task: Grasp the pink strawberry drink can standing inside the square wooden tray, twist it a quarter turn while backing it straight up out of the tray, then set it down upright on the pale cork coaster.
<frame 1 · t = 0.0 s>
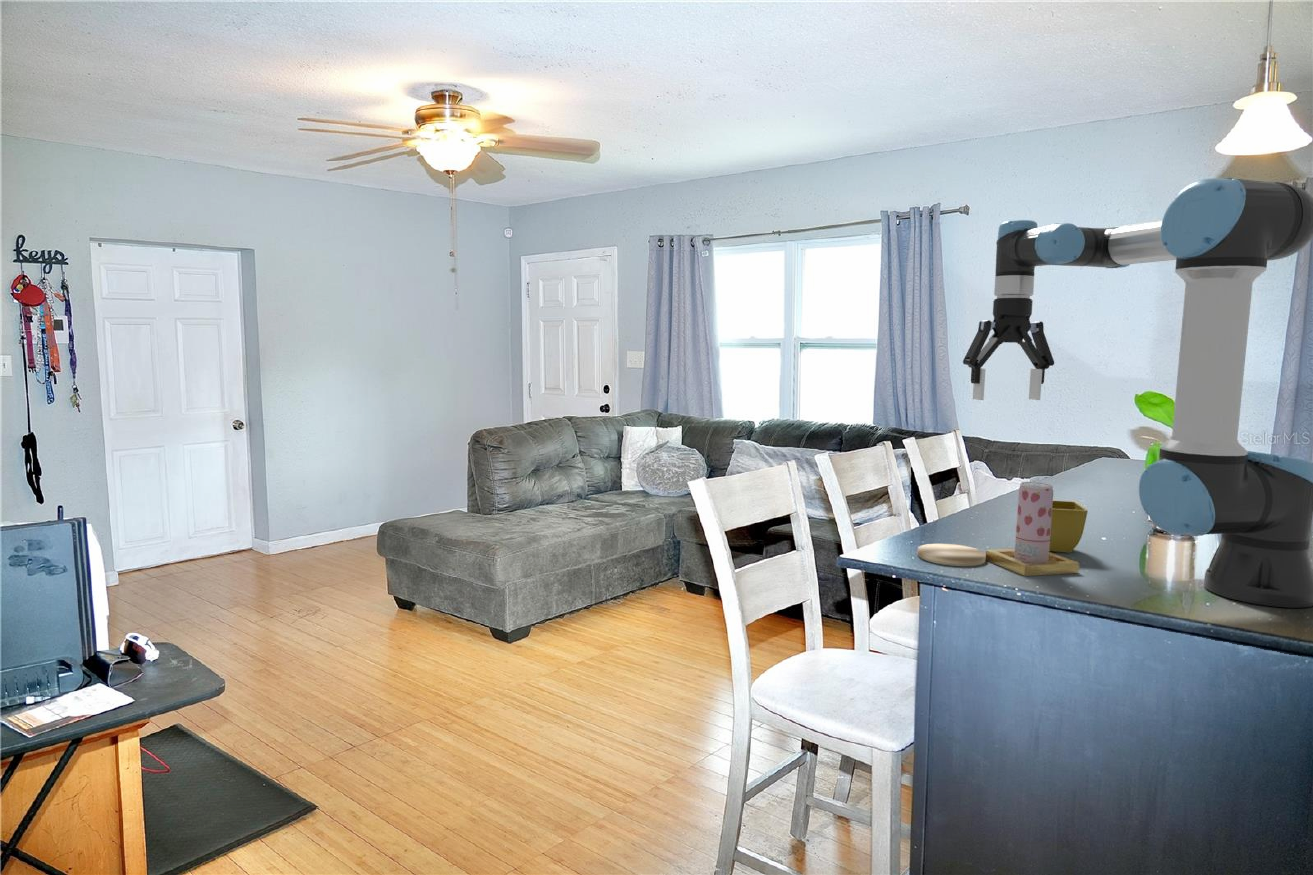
hand: (1006, 399, 179), 28 cm above the table, fingers open, 13 cm apart
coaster: (951, 557, 159), on the table
pink strawberry drink can: (1030, 567, 154), resting in square wooden tray
flower pot: (1054, 550, 166), on the table
square wooden tray: (1030, 566, 154), on the table
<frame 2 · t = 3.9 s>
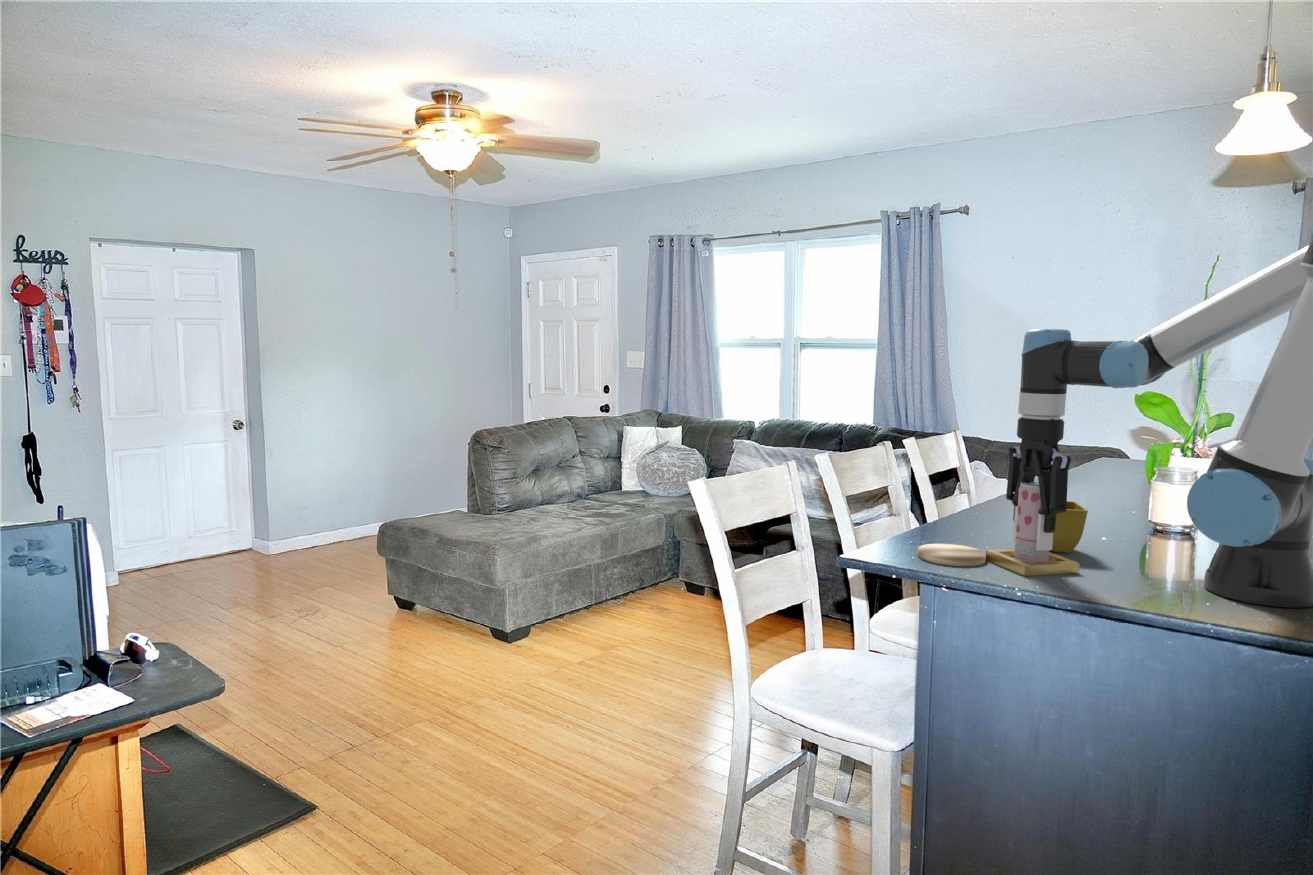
hand: (1032, 545, 153), 4 cm above the table, fingers closed on pink strawberry drink can, 6 cm apart
pink strawberry drink can: (1030, 567, 154), resting in square wooden tray, touching gripper
everything else where it was.
when the fingers open (6 cm above the table, at t = 10.0 s): pink strawberry drink can stays where it is, resting on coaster.
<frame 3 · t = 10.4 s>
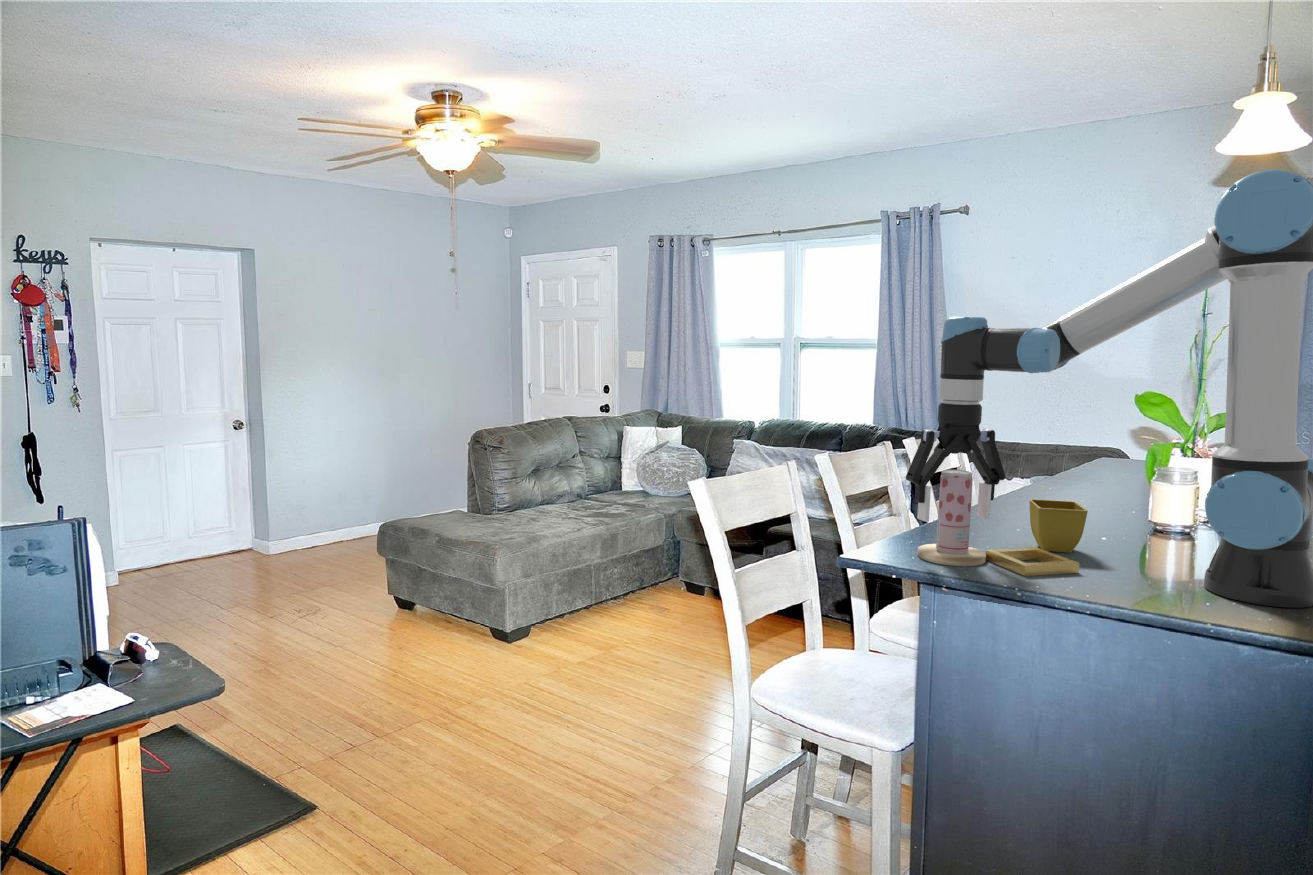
hand: (953, 519, 158), 7 cm above the table, fingers open, 12 cm apart
pink strawberry drink can: (951, 552, 158), point 1 cm above the table, touching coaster
everything else where it was.
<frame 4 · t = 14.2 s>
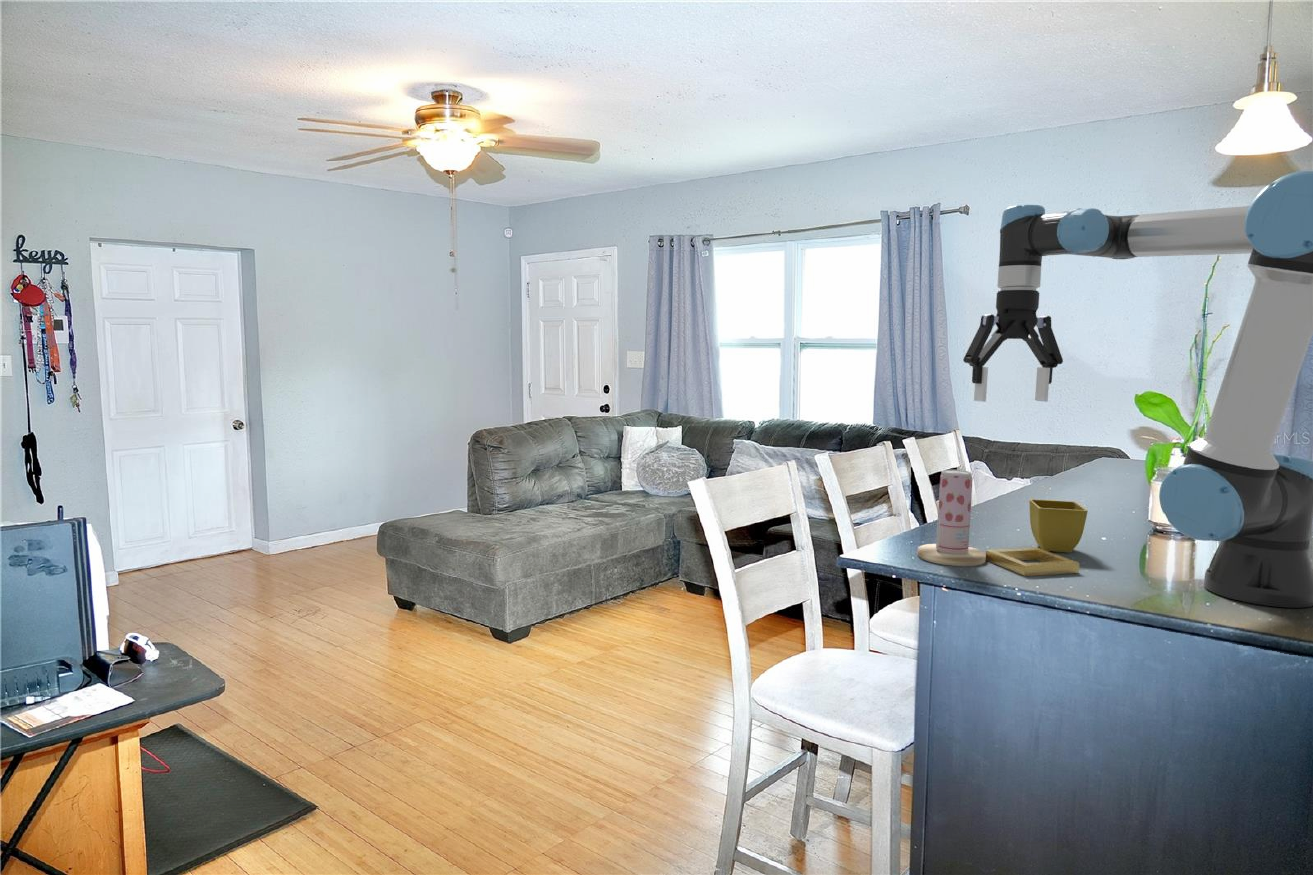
hand: (1010, 401, 165), 29 cm above the table, fingers open, 13 cm apart
nothing on the table moved.
at the end: pink strawberry drink can 0.1 cm from the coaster (horizontally); pink strawberry drink can touching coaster; pink strawberry drink can tilted 0° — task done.
